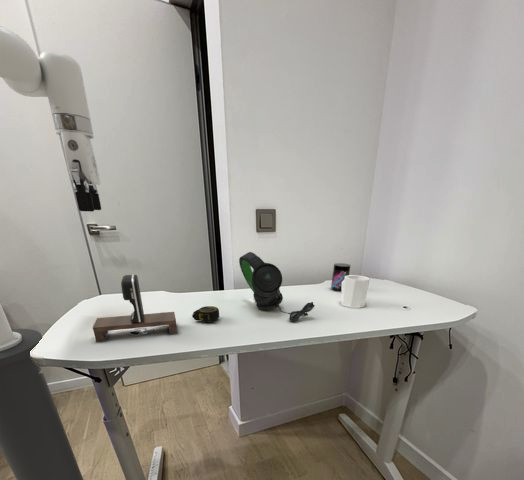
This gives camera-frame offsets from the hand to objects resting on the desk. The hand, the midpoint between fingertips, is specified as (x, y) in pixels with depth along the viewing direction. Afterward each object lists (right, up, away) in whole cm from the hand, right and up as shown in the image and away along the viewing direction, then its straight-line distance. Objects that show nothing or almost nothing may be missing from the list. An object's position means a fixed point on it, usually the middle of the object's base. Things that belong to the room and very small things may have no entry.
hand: (91, 210), depth 74 cm
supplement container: (+77, -10, +50) cm, 92 cm away
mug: (+76, -18, +34) cm, 86 cm away
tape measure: (+27, -27, +15) cm, 41 cm away
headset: (+47, -22, +25) cm, 58 cm away
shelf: (+10, -31, +5) cm, 33 cm away
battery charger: (+10, -28, +3) cm, 30 cm away
